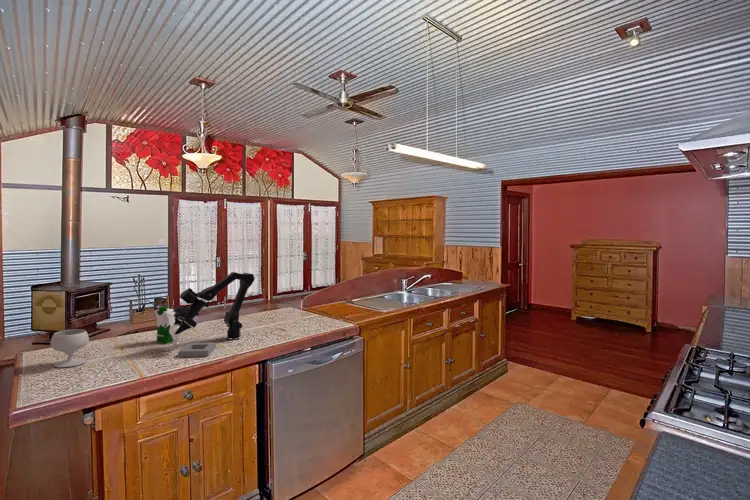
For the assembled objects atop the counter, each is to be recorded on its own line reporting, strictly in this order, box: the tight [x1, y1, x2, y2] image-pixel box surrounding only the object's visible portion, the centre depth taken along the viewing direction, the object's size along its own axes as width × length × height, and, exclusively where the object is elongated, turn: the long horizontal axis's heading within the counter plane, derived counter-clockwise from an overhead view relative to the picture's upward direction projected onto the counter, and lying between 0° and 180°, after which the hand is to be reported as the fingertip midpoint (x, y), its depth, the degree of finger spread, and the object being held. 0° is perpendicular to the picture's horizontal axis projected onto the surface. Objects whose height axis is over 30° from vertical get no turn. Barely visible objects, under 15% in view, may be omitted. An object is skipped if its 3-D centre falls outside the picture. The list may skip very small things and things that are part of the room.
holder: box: [177, 342, 217, 358], centre depth 197 cm, size 14×14×3 cm
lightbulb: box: [169, 324, 183, 346], centre depth 201 cm, size 6×6×11 cm
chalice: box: [50, 328, 90, 368], centre depth 179 cm, size 14×14×15 cm
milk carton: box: [154, 306, 176, 345], centre depth 216 cm, size 9×9×20 cm
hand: (173, 333), depth 200 cm, fingers closed on lightbulb, 6 cm apart
